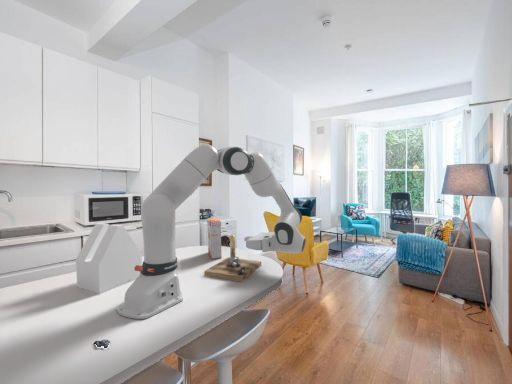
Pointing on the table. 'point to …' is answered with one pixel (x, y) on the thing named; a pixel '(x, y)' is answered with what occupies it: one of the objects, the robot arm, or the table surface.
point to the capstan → (233, 253)
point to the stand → (233, 270)
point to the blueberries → (102, 343)
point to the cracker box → (214, 237)
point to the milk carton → (107, 259)
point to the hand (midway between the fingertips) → (245, 238)
